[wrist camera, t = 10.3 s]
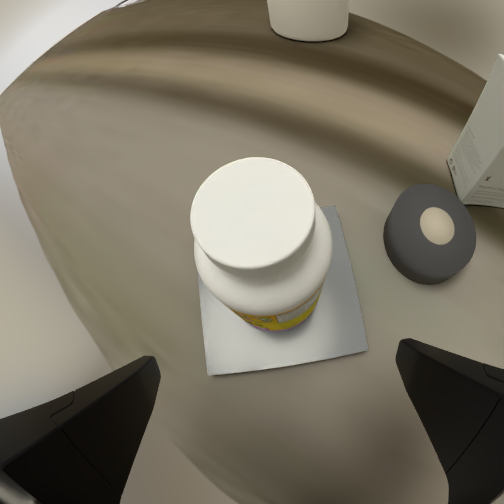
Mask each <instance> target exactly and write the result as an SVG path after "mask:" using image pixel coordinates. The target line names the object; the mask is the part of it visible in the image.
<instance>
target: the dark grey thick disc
mask: <svg viewBox="0 0 504 504" xmlns="http://www.w3.org/2000/svg"><path fill="white" fill-rule="evenodd" d="M384 244H385V248H386V251H387V254H388V256H389V258H390V260H391V262H392V263H393V265H394V266H395V267H396V268H397V270H398V271H399V272H401V273H402V274H403V275H404V276H405V277H407V278H408V279H410V280H412V281H414V282H417V283H420V284H427V285H430V284H437V283H440V282H443V281H444V280H446V279H448V278H449V277H451V276H452V275H454V274H455V273H457V272H458V271H460V270H461V269H462V268H464V267H465V266H466V265H467V264H468V262H469V261H470V260H471V258H472V256H473V253H474V250H475V246H476V232H475V227H474V223H473V220H472V218H471V215H470V213H469V212H468V210H467V208H466V207H465V206H464V204H463V203H462V202H461V201H460V200H459V199H458V198H457V197H456V196H455V195H454V194H452V193H451V192H450V191H448V190H446V189H444V188H442V187H440V186H437V185H433V184H418V185H414V186H411V187H409V188H408V189H406V190H405V191H404V192H402V194H401V195H400V196H399V197H398V199H397V201H396V203H395V205H394V207H393V208H392V210H391V212H390V214H389V216H388V218H387V220H386V222H385V226H384Z"/></svg>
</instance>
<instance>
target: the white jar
mask: <svg viewBox="0 0 504 504" xmlns="http://www.w3.org/2000/svg"><path fill="white" fill-rule="evenodd" d="M267 3H268V10H269V17H270V24H271V27H272V28H273V30H274V31H275V32H276V33H277V34H279V35H281V36H283V37H286V38H290V39H294V40H301V41H325V40H332V39H335V38H338V37H340V36H342V35H343V34H344V33H345V32H346V30H347V27H348V11H349V0H267Z"/></svg>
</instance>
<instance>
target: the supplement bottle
mask: <svg viewBox="0 0 504 504" xmlns="http://www.w3.org/2000/svg"><path fill="white" fill-rule="evenodd" d="M190 220H191V228H192V232H193V235H194V237H195V243H194V257H195V262H196V267H197V270H198V273H199V275H200V277H201V279H202V281H203V283H204V284H205V286H206V287H207V289H208V290H209V291H210V292H211V293H212V294H213V296H215V297H216V298H217V299H218V300H219V301H220V302H221V303H223V304H224V305H225V306H227V307H228V308H229V309H230V310H231V311H233V312H234V313H235V314H236V315H238V316H239V317H240V318H241V319H243V320H244V321H245V322H247V323H248V324H250V325H251V326H253V327H255V328H258V329H261V330H264V331H271V332H278V331H285V330H288V329H291V328H293V327H295V326H297V325H299V324H300V323H302V322H303V321H304V320H305V319H306V318H308V316H309V315H310V314H311V313H312V311H313V310H314V308H315V306H316V304H317V302H318V299H319V296H320V293H321V291H322V287H323V284H324V281H325V278H326V276H327V273H328V270H329V267H330V263H331V258H332V251H333V242H332V234H331V230H330V226H329V224H328V221H327V219H326V217H325V215H324V213H323V212H322V210H321V209H320V207H319V206H318V205H317V204H316V203H315V200H314V196H313V193H312V191H311V188H310V186H309V184H308V183H307V182H306V180H305V179H304V178H303V176H302V175H301V174H300V173H299V172H297V171H296V170H295V169H294V168H292V167H291V166H289V165H287V164H285V163H283V162H280V161H278V160H274V159H270V158H262V157H252V158H245V159H240V160H237V161H233V162H231V163H229V164H227V165H225V166H223V167H221V168H219V169H218V170H217V171H215V172H214V173H213V174H211V175H210V176H209V177H208V178H207V179H206V180H205V182H204V183H203V184H202V185H201V187H200V188H199V190H198V191H197V193H196V195H195V198H194V200H193V203H192V207H191V215H190Z"/></svg>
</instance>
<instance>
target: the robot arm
mask: <svg viewBox="0 0 504 504" xmlns="http://www.w3.org/2000/svg"><path fill="white" fill-rule="evenodd" d="M396 364H397V367H398V369H399V372H400V375H401V378H402V380H403V383H404V386H405V388H406V391H407V393H408V395H409V397H410V399H411V401H412V403H413V405H414V407H415V409H416V411H417V413H418V415H419V417H420V419H421V421H422V423H423V425H424V428H425V430H426V432H427V434H428V436H429V438H430V440H431V442H432V445H433V447H434V449H435V451H436V453H437V456H438V458H439V460H440V462H441V465H442V467H443V469H444V471H445V473H446V476H447V479H448V484H449V502H448V504H504V369H501V368H497V367H494V366H491V365H488V364H485V363H483V364H482V363H481V362H478V361H475V360H472V359H469V358H466V357H463V356H460V355H457V354H454V353H451V352H448V351H445V350H442V349H440V348H437V347H434V346H431V345H428V344H425V343H422V342H420V341H417V340H414V339H411V338H407V339H402V340H401V341H400V342H399V346H398V350H397V354H396ZM160 379H161V374H160V370H159V367H158V364H157V361H156V359H155V357H154V356H143V357H141V358H139V359H137V360H135V361H133V362H131V363H129V364H127V365H125V366H123V367H121V368H119V369H117V370H115V371H113V372H111V373H109V374H107V375H105V376H103V377H101V378H99V379H97V380H95V381H93V382H91V383H89V384H87V385H85V386H83V387H81V388H79V389H77V390H75V392H74V391H72V392H70V393H68V394H66V395H63V396H61V397H59V398H56V399H54V400H52V401H49V402H47V403H44V404H42V405H39V406H36V407H33V408H31V409H28V410H25V411H22V412H20V413H16V414H14V415H11V416H8V417H5V418H2V419H0V504H120V500H121V495H122V493H123V490H124V488H125V485H126V482H127V479H128V476H129V473H130V471H131V468H132V465H133V462H134V459H135V456H136V454H137V451H138V448H139V446H140V443H141V440H142V437H143V435H144V432H145V429H146V426H147V424H148V421H149V419H150V416H151V413H152V411H153V408H154V404H155V400H156V396H157V391H158V387H159V383H160Z"/></svg>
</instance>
